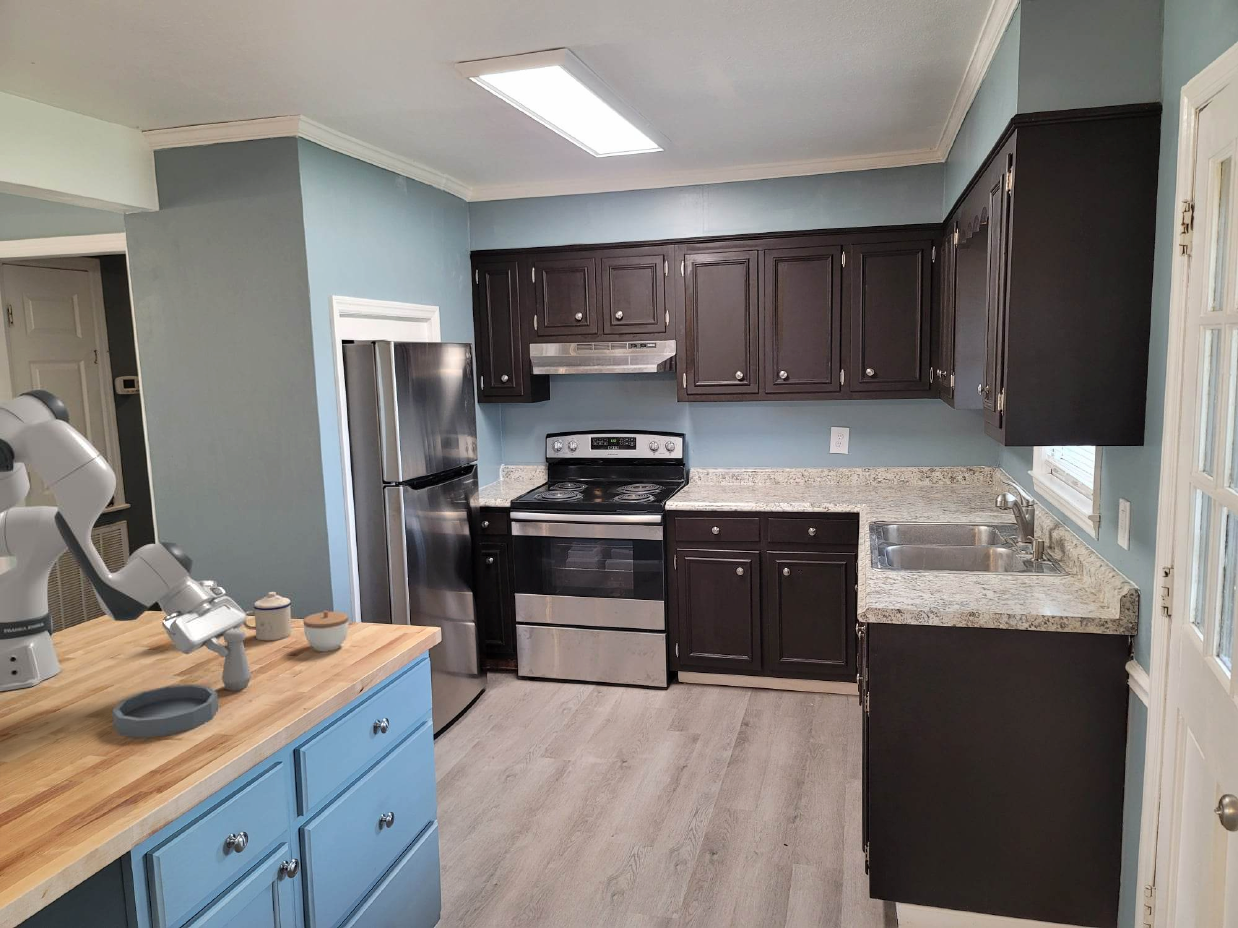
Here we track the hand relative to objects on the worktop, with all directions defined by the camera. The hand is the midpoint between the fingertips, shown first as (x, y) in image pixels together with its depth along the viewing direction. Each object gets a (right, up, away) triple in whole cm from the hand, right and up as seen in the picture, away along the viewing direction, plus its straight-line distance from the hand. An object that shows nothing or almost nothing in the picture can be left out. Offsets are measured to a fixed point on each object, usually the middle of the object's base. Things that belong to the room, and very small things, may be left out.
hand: (233, 651), depth 188 cm
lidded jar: (+11, -5, +28) cm, 30 cm away
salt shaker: (0, -8, +1) cm, 8 cm away
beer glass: (-22, -5, +34) cm, 41 cm away
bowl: (-6, -10, -16) cm, 20 cm away
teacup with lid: (-7, -4, +37) cm, 38 cm away
